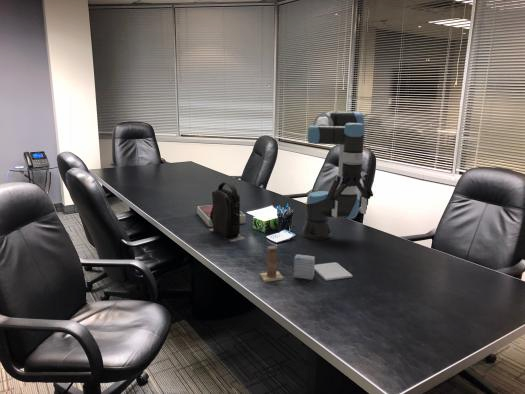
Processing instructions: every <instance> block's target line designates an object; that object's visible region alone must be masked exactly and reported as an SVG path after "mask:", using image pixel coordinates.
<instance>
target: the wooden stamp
mask: <svg viewBox="0 0 525 394" xmlns="http://www.w3.org/2000/svg"><path fill="white" fill-rule="evenodd" d="M266 250H267V251H266V272H261V273H259V277H260V278H261V279H262V281H263V282H264V283H266V282H267V283H268V282H274V281H282V280H284V276H283V275H282V274H281V273H280V271H279V270H278V271H277V267H278V266H277V261H278V260H277V259H278V248H277V247H276V246H275V245H271V246H267V248H266Z"/></svg>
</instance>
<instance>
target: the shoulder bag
mask: <svg viewBox="0 0 525 394" xmlns="http://www.w3.org/2000/svg"><path fill="white" fill-rule="evenodd" d="M225 185H228V187H229V188H230V189H226V188H224V186H225ZM211 197H212V205H213V207H212V210H211V213H210V219H211V220H212V223H213V227H212V228H209V231H211V232H212V233H215V234H216V235H218V236H220V237H221V238H224V239H226V240H227V241H228V242H230V243H231V242H232V243H233V242H236V241H239V240H240V241H241V240H245V239H246V237H244V236H242V235H241V234H240V230H241V229H240V228H241V227H240V211H241V210H240V209H241V208H240V207H241V197H240V194H239V193H238V190H237V188H236V186H235V185H234V184H233V182H229V181H227V182H226V181H223V182H222V183H220V184H219V185H218V188H217V189H216V190H215V191H214V190H213V191H212V192H211Z"/></svg>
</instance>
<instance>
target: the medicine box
mask: <svg viewBox="0 0 525 394" xmlns="http://www.w3.org/2000/svg"><path fill="white" fill-rule="evenodd" d="M315 259H316V257H315V256H314V255H313V256H312V255H305V254H295V256H294V257H293V278H295V279H296V278H297V279H305V280H311V281H312V280H314V276H315V270H314V266H315V265H316V264H315V263H316V262H315V261H316V260H315Z"/></svg>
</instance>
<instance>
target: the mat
mask: <svg viewBox="0 0 525 394" xmlns="http://www.w3.org/2000/svg"><path fill="white" fill-rule="evenodd" d="M314 272H316V273H317V274H318V275H319V276H320V277H321V278H322V279H324V280H325V282H326V281H334V280H340V279H347V278H348V279H349V278H353V274H351V273H350V272H349V270H346V269H345V268H344V267H343V266H341V265H340V263H338V262H326V263H317V264H315V266H314Z"/></svg>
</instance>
